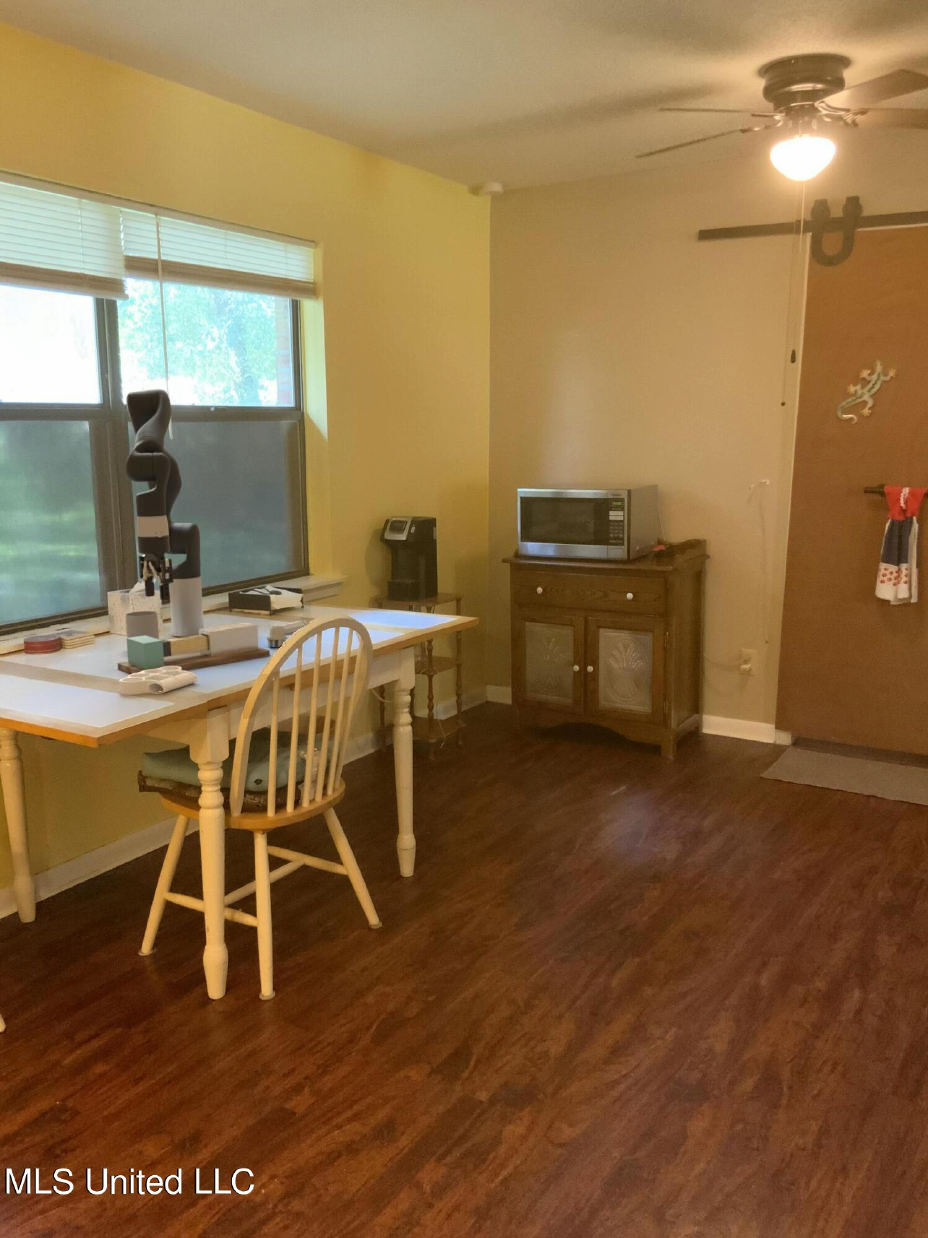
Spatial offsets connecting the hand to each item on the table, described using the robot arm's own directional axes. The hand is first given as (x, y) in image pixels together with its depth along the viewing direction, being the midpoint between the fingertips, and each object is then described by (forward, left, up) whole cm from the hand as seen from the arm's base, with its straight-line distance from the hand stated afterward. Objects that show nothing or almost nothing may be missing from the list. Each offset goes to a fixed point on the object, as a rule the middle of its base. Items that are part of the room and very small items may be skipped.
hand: (157, 598), depth 260 cm
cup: (-27, +7, -18) cm, 33 cm away
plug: (0, +6, -15) cm, 16 cm away
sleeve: (0, +19, -17) cm, 25 cm away
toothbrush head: (-8, +43, -18) cm, 48 cm away
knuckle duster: (+18, -10, -19) cm, 28 cm away
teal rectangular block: (0, -4, -16) cm, 17 cm away
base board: (0, +9, -18) cm, 20 cm away
